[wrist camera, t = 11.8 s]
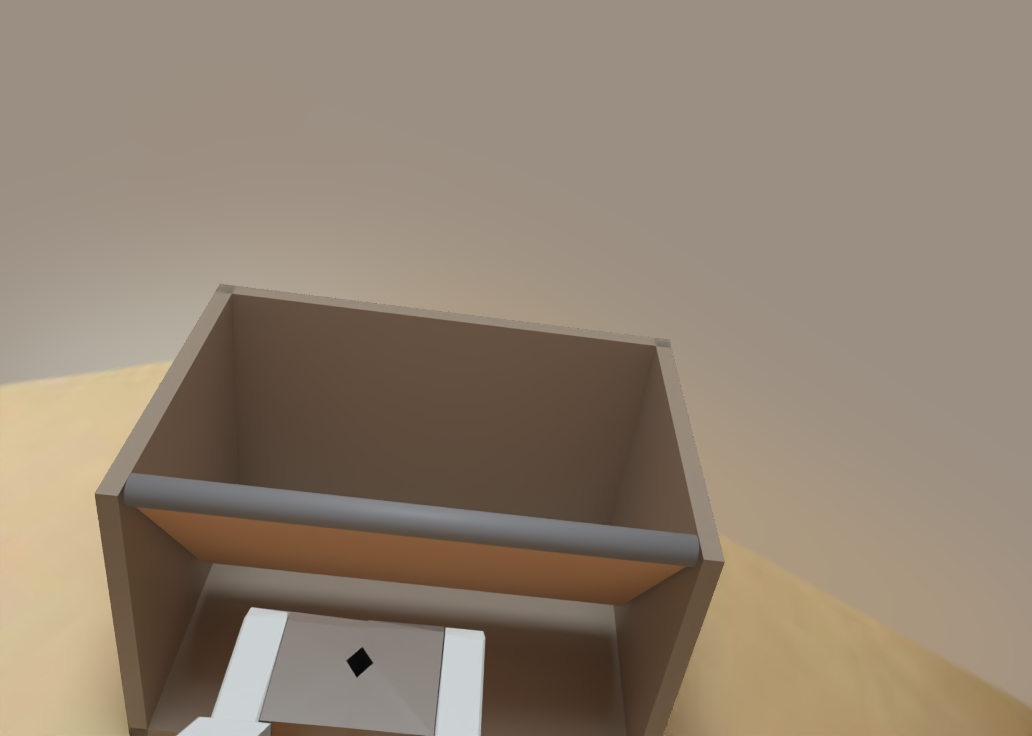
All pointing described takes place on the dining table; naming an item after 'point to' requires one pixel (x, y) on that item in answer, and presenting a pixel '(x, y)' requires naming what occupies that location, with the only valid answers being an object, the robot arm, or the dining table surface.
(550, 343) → the open carton
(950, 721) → the dining table surface
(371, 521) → the flap
